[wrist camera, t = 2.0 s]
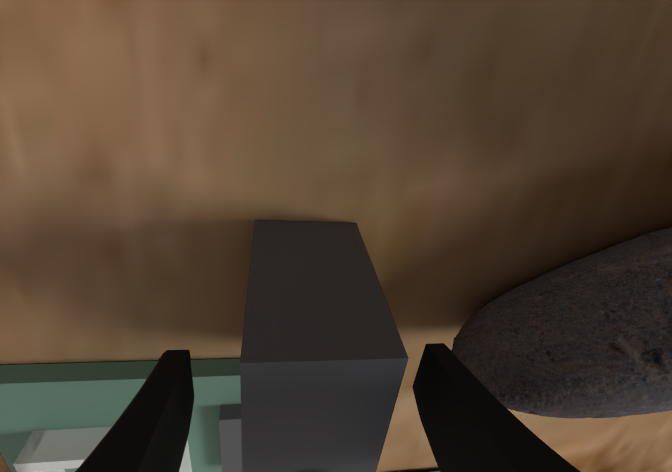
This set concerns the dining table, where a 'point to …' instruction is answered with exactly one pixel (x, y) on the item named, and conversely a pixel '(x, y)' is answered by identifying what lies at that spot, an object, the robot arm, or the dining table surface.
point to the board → (110, 413)
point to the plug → (316, 352)
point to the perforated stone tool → (581, 336)
